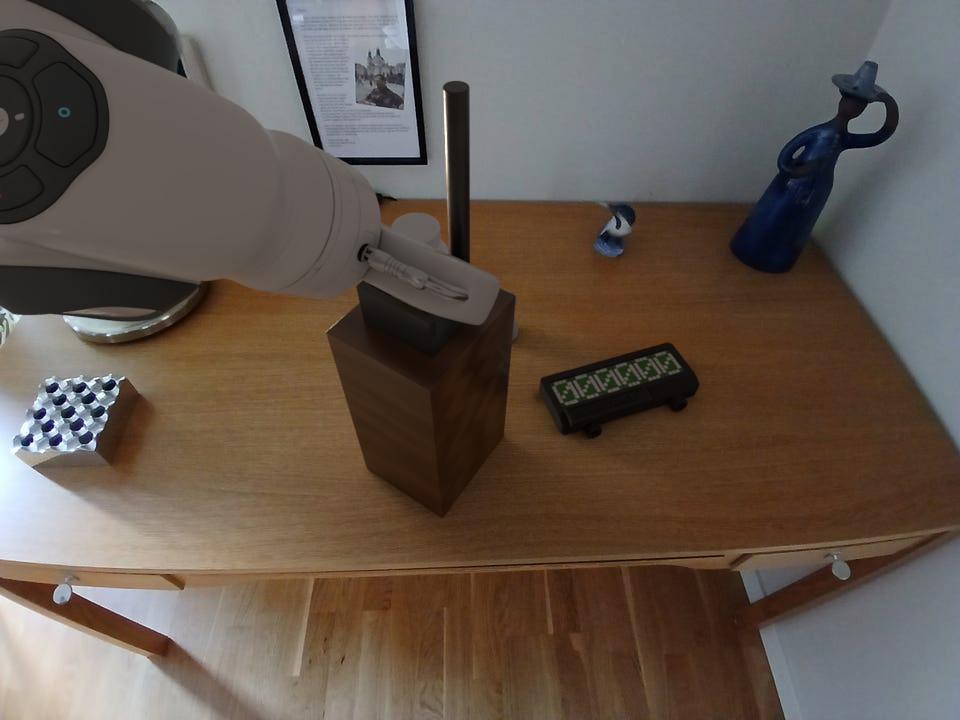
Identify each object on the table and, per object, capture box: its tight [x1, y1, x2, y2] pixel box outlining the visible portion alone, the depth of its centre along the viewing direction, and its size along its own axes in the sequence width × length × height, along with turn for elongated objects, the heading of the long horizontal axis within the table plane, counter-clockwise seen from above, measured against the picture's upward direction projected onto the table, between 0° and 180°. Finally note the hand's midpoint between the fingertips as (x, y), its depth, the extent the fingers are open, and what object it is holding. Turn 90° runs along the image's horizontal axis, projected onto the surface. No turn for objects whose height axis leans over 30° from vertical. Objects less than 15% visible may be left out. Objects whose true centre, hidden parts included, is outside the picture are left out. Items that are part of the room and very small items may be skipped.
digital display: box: [538, 341, 700, 439], centre depth 78 cm, size 21×3×10 cm
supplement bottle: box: [391, 212, 449, 315], centre depth 49 cm, size 5×5×10 cm
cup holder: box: [325, 80, 517, 519], centre depth 55 cm, size 14×12×45 cm
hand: (417, 261), depth 47 cm, fingers open, 8 cm apart
